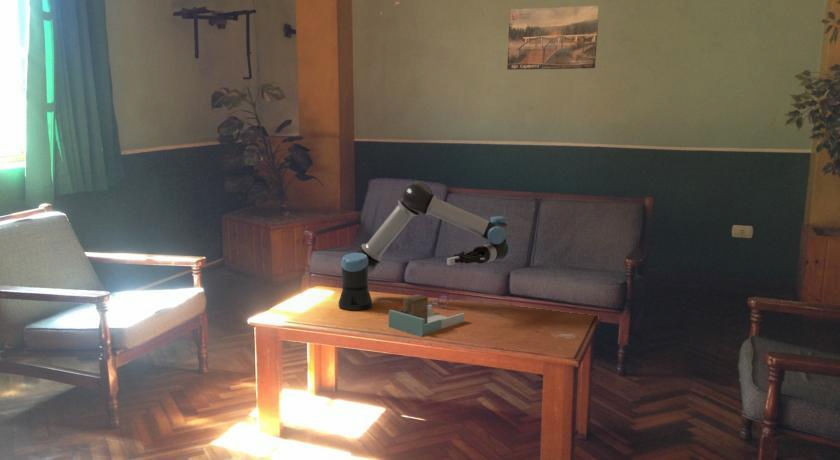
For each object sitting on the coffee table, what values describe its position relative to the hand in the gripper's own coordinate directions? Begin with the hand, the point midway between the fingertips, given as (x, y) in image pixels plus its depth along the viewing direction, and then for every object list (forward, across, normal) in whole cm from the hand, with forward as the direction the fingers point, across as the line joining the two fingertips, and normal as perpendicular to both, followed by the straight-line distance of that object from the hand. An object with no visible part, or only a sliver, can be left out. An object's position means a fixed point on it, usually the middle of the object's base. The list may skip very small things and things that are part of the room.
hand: (448, 261), depth 300 cm
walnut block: (+19, 0, -24) cm, 31 cm away
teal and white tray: (+12, 0, -25) cm, 28 cm away
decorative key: (-6, +17, -25) cm, 31 cm away
